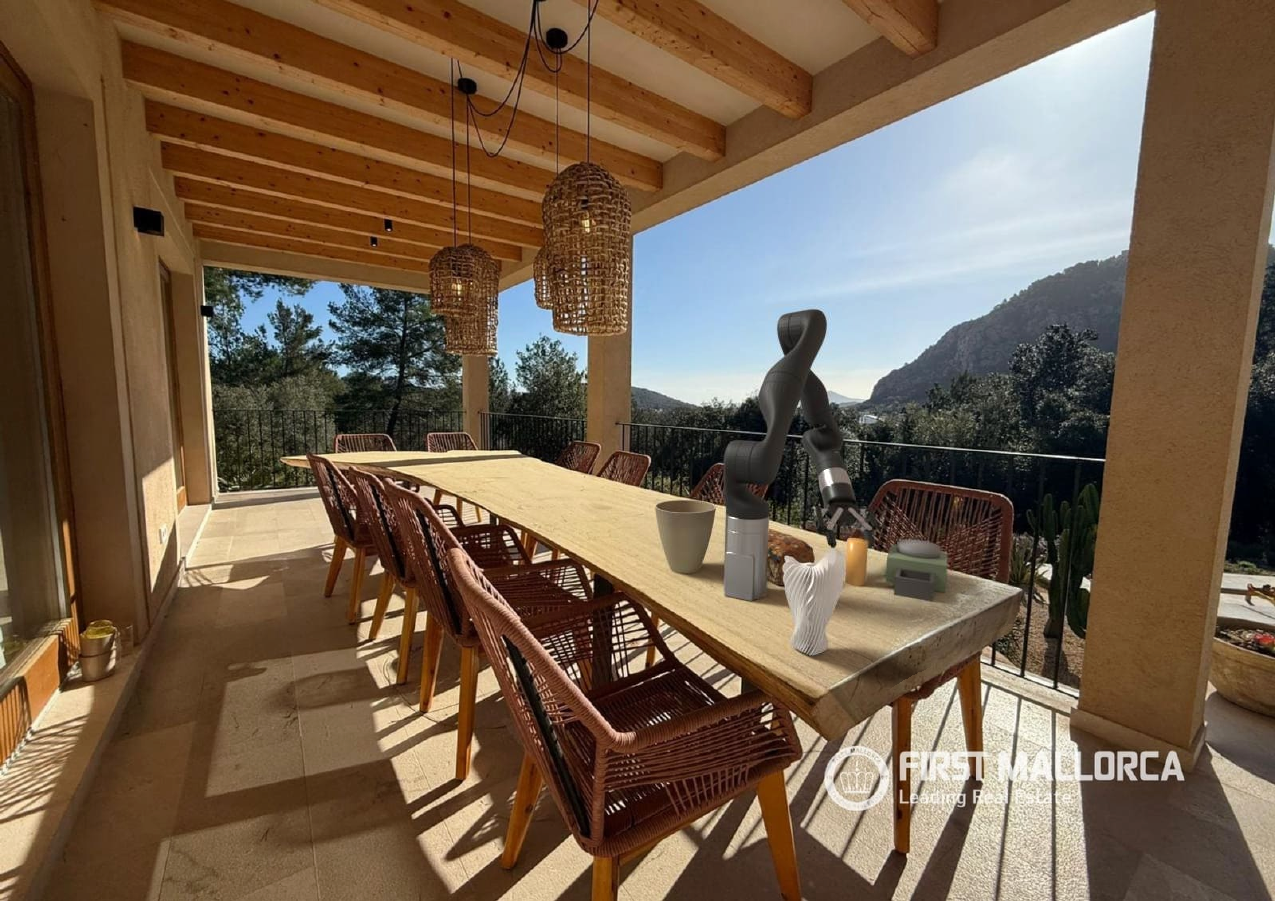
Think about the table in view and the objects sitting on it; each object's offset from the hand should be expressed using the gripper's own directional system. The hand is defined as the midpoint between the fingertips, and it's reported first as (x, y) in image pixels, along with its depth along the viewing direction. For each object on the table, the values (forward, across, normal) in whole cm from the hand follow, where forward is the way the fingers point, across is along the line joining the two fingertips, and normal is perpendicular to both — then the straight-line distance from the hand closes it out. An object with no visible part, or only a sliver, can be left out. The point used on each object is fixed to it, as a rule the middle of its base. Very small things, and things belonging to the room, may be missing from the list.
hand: (852, 546), depth 123 cm
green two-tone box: (+8, +14, +3) cm, 16 cm away
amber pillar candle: (+7, 0, +4) cm, 8 cm away
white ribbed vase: (+31, -21, -20) cm, 42 cm away
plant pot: (+1, -39, +10) cm, 40 cm away
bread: (+3, -17, +9) cm, 20 cm away
